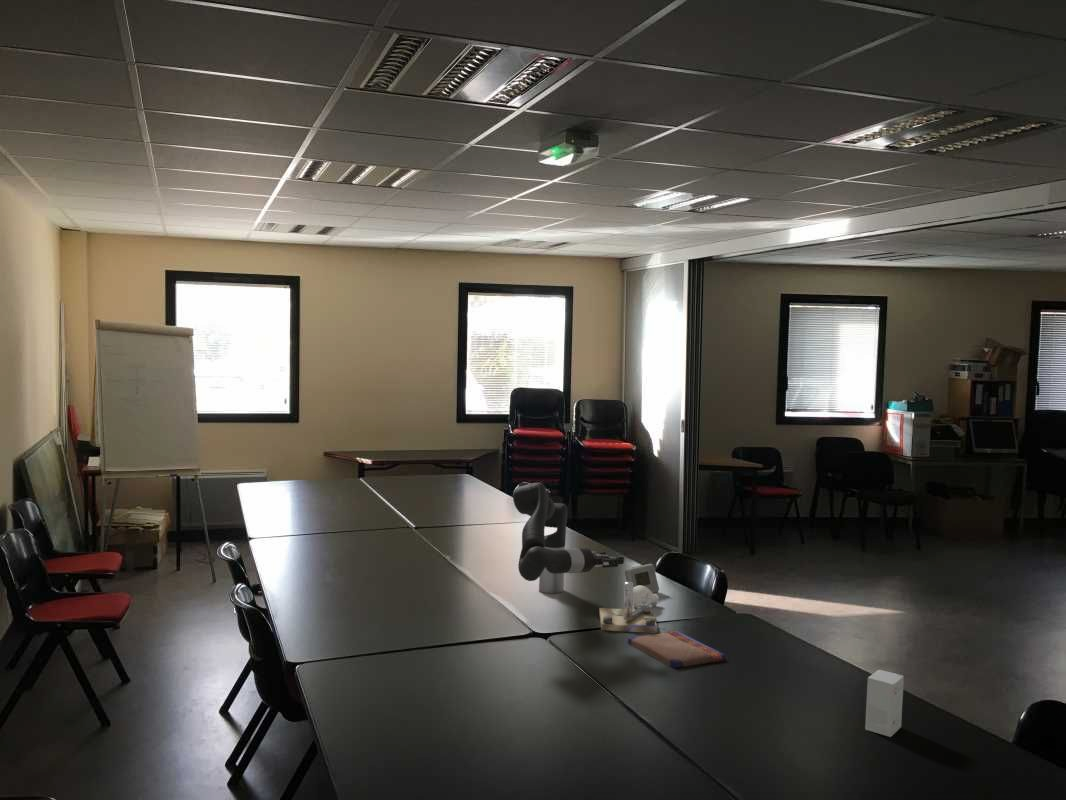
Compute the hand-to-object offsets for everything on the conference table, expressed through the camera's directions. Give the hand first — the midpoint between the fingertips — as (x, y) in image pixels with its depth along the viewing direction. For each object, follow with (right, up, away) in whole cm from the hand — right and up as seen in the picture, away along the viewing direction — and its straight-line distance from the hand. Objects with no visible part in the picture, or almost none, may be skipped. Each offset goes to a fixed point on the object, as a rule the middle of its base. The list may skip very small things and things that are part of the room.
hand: (614, 557), depth 275 cm
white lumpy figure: (+14, -24, +30) cm, 41 cm away
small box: (+60, -30, -66) cm, 94 cm away
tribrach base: (+5, -24, +11) cm, 27 cm away
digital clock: (+15, -23, +47) cm, 54 cm away
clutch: (+16, -26, -14) cm, 34 cm away
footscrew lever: (+9, -21, +12) cm, 26 cm away
